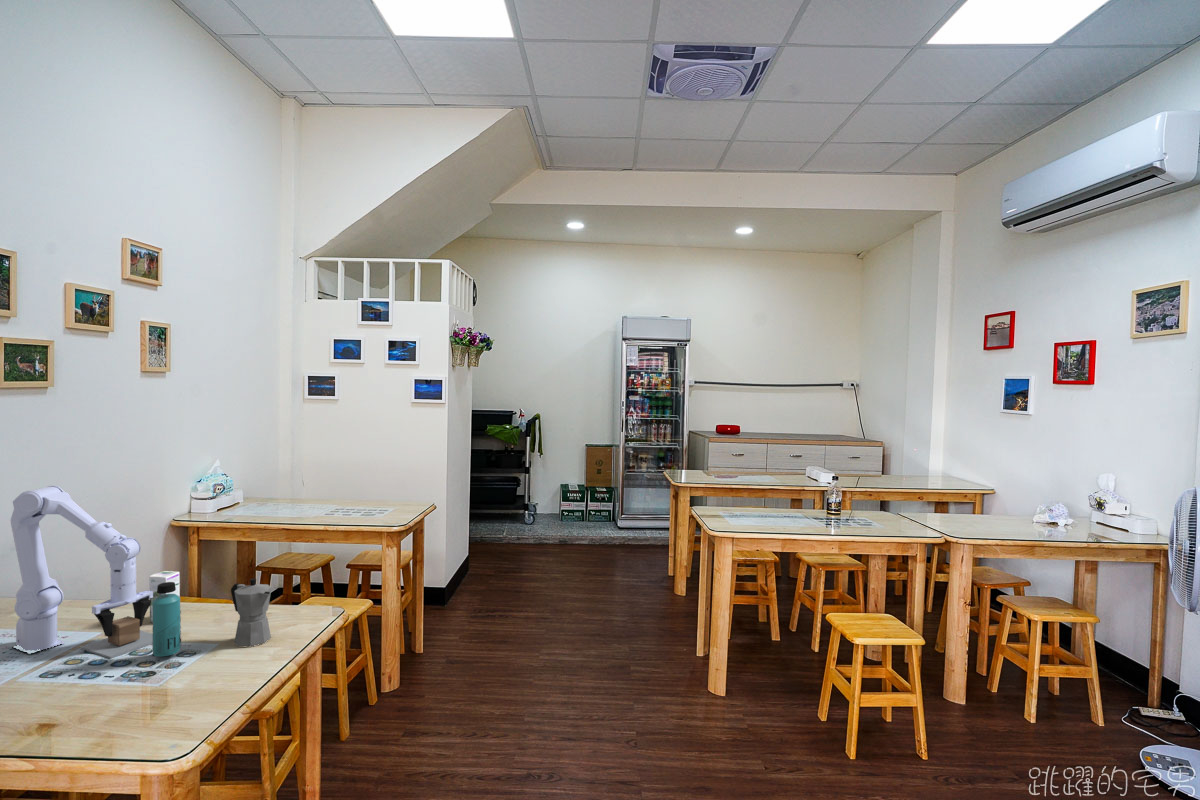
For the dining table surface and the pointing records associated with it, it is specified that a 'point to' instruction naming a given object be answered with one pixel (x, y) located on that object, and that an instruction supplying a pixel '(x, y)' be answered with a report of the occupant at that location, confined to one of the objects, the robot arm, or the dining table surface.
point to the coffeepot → (251, 613)
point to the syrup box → (162, 578)
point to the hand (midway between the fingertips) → (123, 630)
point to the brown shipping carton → (125, 631)
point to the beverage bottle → (166, 621)
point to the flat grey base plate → (114, 650)
